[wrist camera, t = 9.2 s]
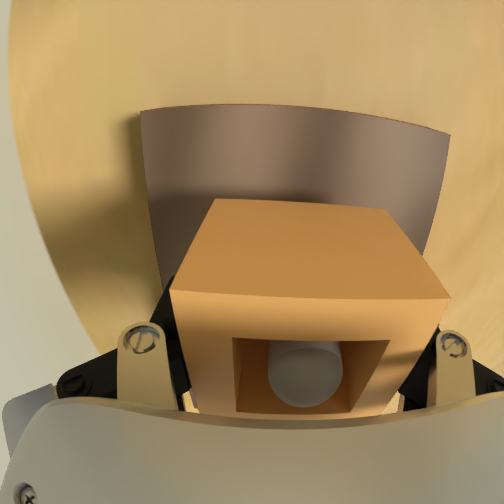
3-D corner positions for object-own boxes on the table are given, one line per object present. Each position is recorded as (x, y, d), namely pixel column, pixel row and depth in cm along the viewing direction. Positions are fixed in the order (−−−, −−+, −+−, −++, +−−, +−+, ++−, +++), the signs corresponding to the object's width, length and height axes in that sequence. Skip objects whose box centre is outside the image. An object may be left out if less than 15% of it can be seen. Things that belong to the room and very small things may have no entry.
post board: (429, 127, 11) (584, 204, 3) (344, 395, 22) (354, 492, 14) (158, 108, 12) (-9, 159, 3) (198, 389, 23) (177, 486, 15)
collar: (384, 209, 9) (450, 298, 5) (351, 329, 12) (371, 424, 8) (215, 198, 10) (168, 289, 5) (222, 325, 13) (202, 422, 8)
